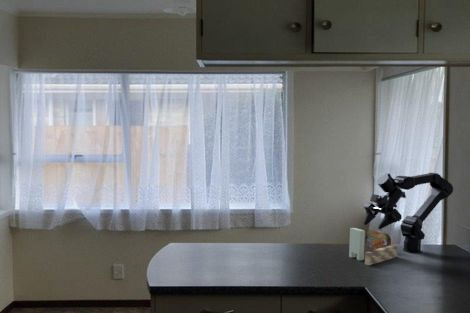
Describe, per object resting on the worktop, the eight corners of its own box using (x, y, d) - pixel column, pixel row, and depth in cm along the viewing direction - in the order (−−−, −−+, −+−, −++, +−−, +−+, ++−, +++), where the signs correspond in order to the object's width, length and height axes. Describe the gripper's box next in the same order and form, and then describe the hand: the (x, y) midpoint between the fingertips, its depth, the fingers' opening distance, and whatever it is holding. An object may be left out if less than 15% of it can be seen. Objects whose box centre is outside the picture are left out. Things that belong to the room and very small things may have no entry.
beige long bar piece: (392, 255, 220) (393, 244, 219) (397, 256, 218) (397, 245, 218) (364, 264, 205) (365, 252, 205) (369, 265, 204) (369, 253, 203)
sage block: (353, 256, 218) (354, 227, 217) (363, 259, 212) (364, 230, 211) (349, 256, 217) (350, 228, 216) (359, 260, 211) (360, 231, 210)
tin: (364, 245, 238) (365, 228, 238) (369, 245, 239) (370, 227, 239) (386, 253, 225) (387, 234, 224) (391, 252, 226) (392, 234, 225)
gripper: (366, 184, 227) (347, 211, 223) (396, 190, 210) (376, 218, 206) (380, 200, 231) (361, 226, 227) (410, 206, 214) (390, 235, 210)
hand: (371, 226), depth 217 cm, fingers open, 9 cm apart
